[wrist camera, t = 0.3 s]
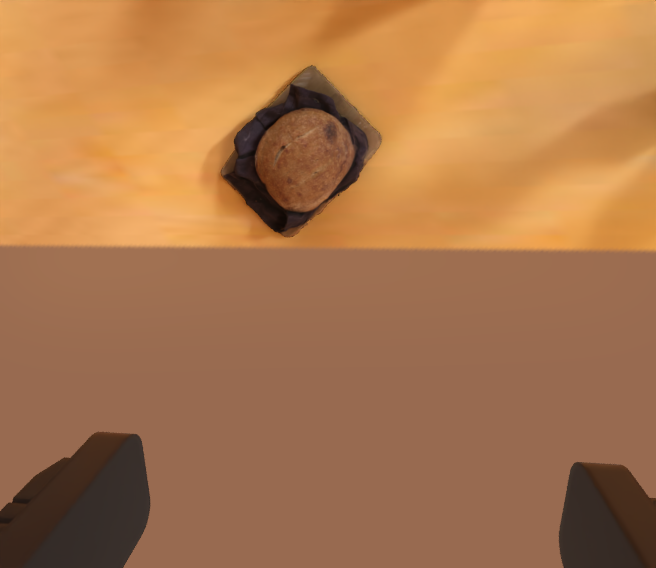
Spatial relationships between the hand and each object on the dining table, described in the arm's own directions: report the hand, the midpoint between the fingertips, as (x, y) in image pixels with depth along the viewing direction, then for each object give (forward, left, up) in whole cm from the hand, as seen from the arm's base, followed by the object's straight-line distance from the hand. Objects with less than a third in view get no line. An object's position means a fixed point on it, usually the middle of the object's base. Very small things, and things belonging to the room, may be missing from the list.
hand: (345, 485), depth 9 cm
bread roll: (-5, -6, -29) cm, 30 cm away
